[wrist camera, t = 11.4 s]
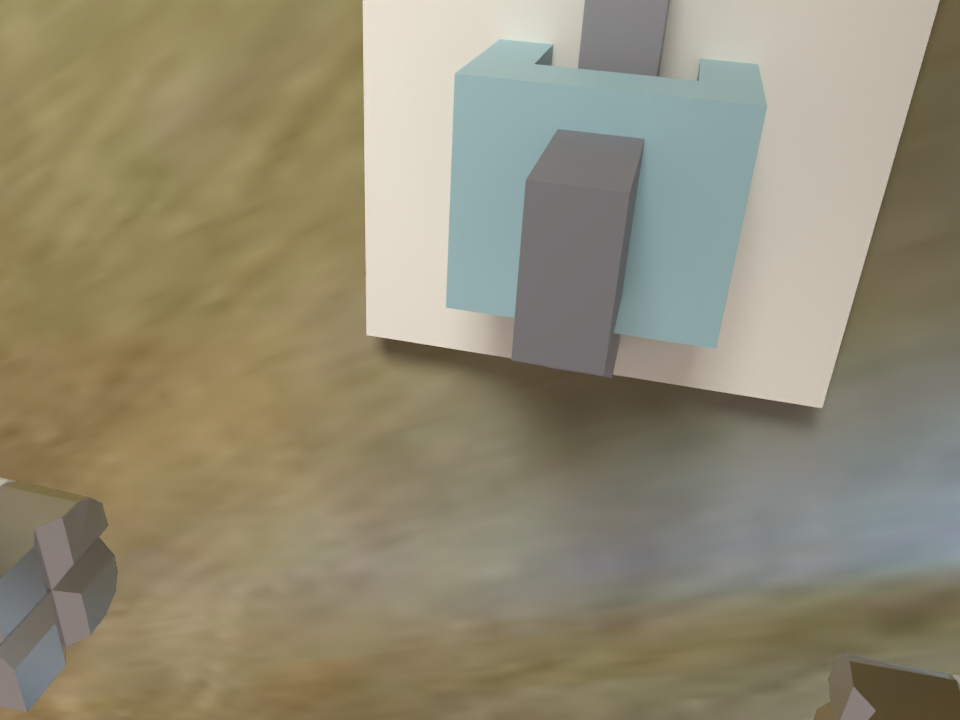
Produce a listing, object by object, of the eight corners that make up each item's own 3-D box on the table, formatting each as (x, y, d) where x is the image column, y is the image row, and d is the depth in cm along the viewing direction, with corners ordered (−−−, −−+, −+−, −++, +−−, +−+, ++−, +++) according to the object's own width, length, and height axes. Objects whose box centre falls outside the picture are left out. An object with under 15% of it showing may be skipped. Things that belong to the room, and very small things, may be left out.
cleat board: (379, -133, 25) (333, -133, 22) (952, -96, 22) (989, -92, 19) (380, 316, 32) (345, 362, 29) (817, 384, 29) (829, 443, 26)
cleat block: (500, 39, 25) (401, 113, 17) (757, 64, 23) (778, 156, 16) (487, 240, 28) (399, 381, 20) (716, 272, 26) (716, 435, 19)
